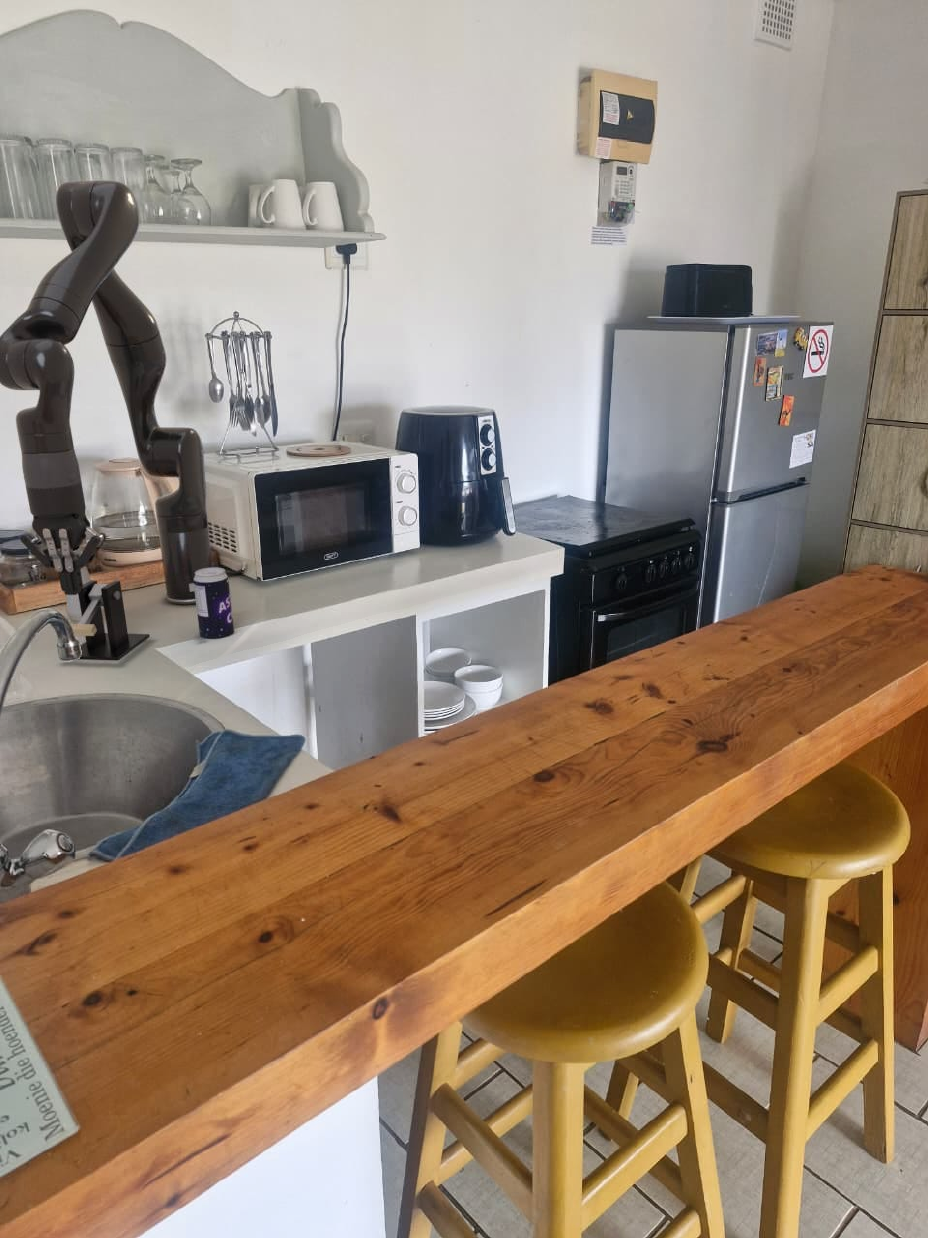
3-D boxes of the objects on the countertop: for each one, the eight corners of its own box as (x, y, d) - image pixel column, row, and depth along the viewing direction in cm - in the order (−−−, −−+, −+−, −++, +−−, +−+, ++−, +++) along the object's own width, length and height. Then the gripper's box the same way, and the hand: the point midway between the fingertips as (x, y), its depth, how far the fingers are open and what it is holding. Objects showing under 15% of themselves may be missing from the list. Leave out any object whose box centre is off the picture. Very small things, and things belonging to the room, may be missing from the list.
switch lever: (94, 638, 135) (89, 627, 133) (67, 637, 136) (61, 626, 134) (119, 594, 142) (114, 584, 141) (93, 594, 143) (88, 583, 141)
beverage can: (225, 644, 147) (217, 576, 143) (194, 643, 148) (186, 575, 144) (240, 633, 152) (233, 567, 148) (210, 631, 153) (202, 566, 149)
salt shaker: (81, 628, 156) (69, 558, 151) (61, 623, 159) (49, 554, 154) (109, 619, 160) (98, 550, 156) (89, 614, 163) (79, 547, 159)
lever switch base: (119, 665, 138) (108, 595, 134) (65, 664, 139) (53, 593, 135) (150, 641, 149) (141, 575, 145) (100, 640, 150) (90, 574, 146)
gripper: (108, 476, 130) (125, 587, 136) (26, 476, 131) (46, 585, 137) (82, 486, 123) (101, 602, 129) (-5, 485, 124) (18, 600, 130)
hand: (73, 593), depth 133 cm, fingers closed
